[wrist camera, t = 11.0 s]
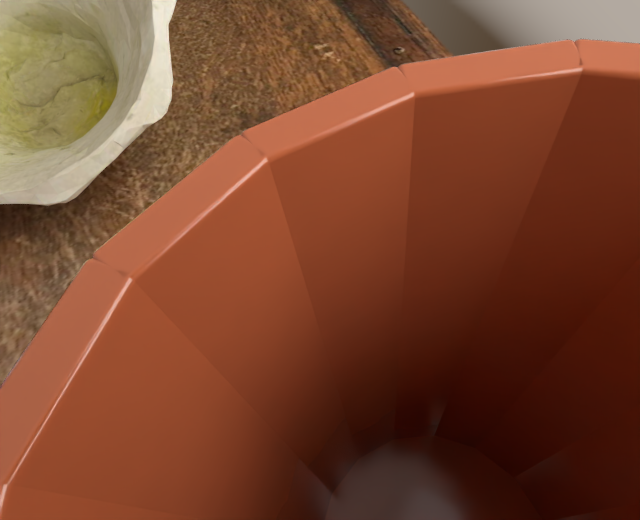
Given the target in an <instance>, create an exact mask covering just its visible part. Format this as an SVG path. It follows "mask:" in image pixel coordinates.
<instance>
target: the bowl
mask: <svg viewBox="0 0 640 520" xmlns="http://www.w3.org/2000/svg"><path fill="white" fill-rule="evenodd" d="M176 1H177V0H0V204H37V205H45V206H50V205H54V204H57V203H67V202H69V201H71V200H73V199H75V198H76V197H77V196H78V195H79V194H80V193H81V192H82V191H83V190H84V189H85V188H86V187H87V186H88V185H89V184H90V183H91V182H92V181H93V180H94V179H95V178H96V177H97V176H98V174H99V173H100V172H101V171H102V170H104V169H105V168H106V167H107V166H108V165H109V164H110V163H112V162H113V161H114V160H115V159H116V158H117V157H118V156H119V155H120V154H121V153H122V151H123V150H124V149H125V148H126V147H128V146H129V145H130V144H131V143H132V142H133V141H134V140H135V139H136V138H137V137H138V136H139V135H140V134H141V133H143V132H144V131H145V129H146V128H147V127H149V126H150V125H152V124H153V123H155V122H157V121H158V120H160V119H161V118H162V117H163V116H164V115H165V114H166V113H167V110H168V106H169V104H170V101H171V94H172V84H173V76H172V67H171V56H170V46H169V31H168V24H169V22H170V19H171V17H172V14H173V11H174V8H175V3H176Z"/></svg>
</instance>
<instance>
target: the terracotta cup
mask: <svg viewBox="0 0 640 520" xmlns="http://www.w3.org/2000/svg"><path fill="white" fill-rule="evenodd" d="M0 520H640V43H628V42H614V41H602V40H588V39H578V40H576V41H575V42H574V41H572V40H568V39H567V40H560V41H553V42H547V43H540V44H533V45H526V46H520V47H514V48H506V49H500V50H493V51H487V52H479V53H472V54H467V55H460V56H452V57H445V58H439V59H432V60H425V61H418V62H412V63H405V64H401V65H399V67H398V68H397V67H390V68H388V69H385V70H383V71H381V72H378V73H376V74H374V75H371V76H369V77H367V78H364V79H362V80H360V81H357V82H355V83H353V84H350V85H348V86H346V87H343V88H341V89H339V90H336V91H334V92H332V93H330V94H327V95H325V96H323V97H320V98H318V99H316V100H313V101H311V102H309V103H306V104H304V105H302V106H299V107H297V108H295V109H292V110H290V111H288V112H285V113H283V114H281V115H278V116H276V117H274V118H271V119H269V120H267V121H264V122H262V123H260V124H257V125H255V126H253V127H250V128H248V129H246V130H244V131H243V132H242V133H241V135H236V136H234V137H233V138H231V139H230V140H229V141H228V142H227V143H225V144H224V145H223V146H222V147H220V148H219V149H218V150H217V151H216V152H214V153H213V154H212V155H211V156H210V157H208V158H207V159H206V160H205V161H203V162H202V163H201V164H200V165H199V166H197V167H196V168H195V169H194V170H193V171H191V172H190V173H189V174H188V175H186V176H185V177H184V178H183V179H182V180H180V181H179V182H178V183H177V184H176V185H174V186H173V187H172V188H171V189H169V190H168V191H167V192H166V193H165V194H163V195H162V196H161V197H160V198H159V199H157V200H156V201H155V202H154V203H152V204H151V205H150V206H149V207H148V208H146V209H145V210H144V211H143V212H142V213H140V214H139V215H138V216H137V217H135V218H134V219H133V220H132V221H131V222H129V223H128V224H127V225H126V226H125V227H123V228H122V229H121V230H120V231H118V232H117V233H116V234H115V235H114V236H112V237H111V238H110V239H109V240H108V241H106V242H105V243H104V244H103V245H101V246H100V247H99V248H98V249H97V250H95V252H94V253H93V259H88V260H87V261H85V262H84V264H83V265H82V267H81V268H80V270H79V271H78V273H77V274H76V276H75V277H74V279H73V280H72V281H71V283H70V284H69V286H68V287H67V289H66V290H65V292H64V293H63V295H62V296H61V298H60V299H59V301H58V302H57V304H56V305H55V307H54V308H53V309H52V311H51V312H50V314H49V315H48V317H47V318H46V320H45V321H44V323H43V324H42V326H41V327H40V329H39V330H38V332H37V333H36V335H35V336H34V338H33V339H32V340H31V342H30V343H29V345H28V346H27V348H26V349H25V351H24V352H23V354H22V355H21V357H20V358H19V360H18V361H17V363H16V364H15V366H14V367H13V368H12V370H11V371H10V373H9V374H8V376H7V377H6V379H5V380H4V382H3V383H2V385H1V386H0Z"/></svg>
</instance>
